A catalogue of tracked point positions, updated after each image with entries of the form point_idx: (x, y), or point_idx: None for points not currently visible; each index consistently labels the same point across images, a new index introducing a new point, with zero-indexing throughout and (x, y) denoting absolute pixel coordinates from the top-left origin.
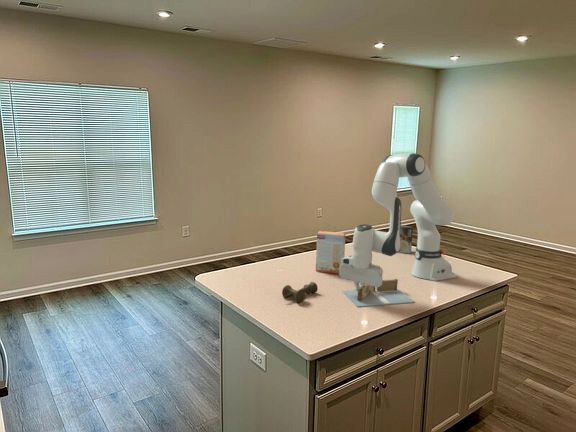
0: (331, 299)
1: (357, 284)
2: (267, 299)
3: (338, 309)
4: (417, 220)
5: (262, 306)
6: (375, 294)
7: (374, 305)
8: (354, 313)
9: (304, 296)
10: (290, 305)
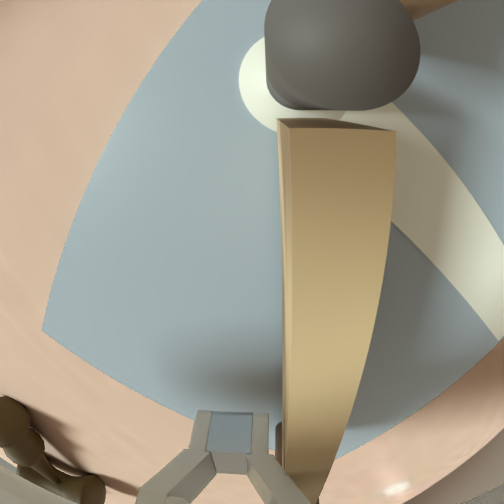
0: (134, 448)
1: (187, 491)
2: None
3: (252, 492)
4: None
5: None
6: None
7: (426, 400)
8: (338, 485)
9: (92, 491)
10: (110, 493)
